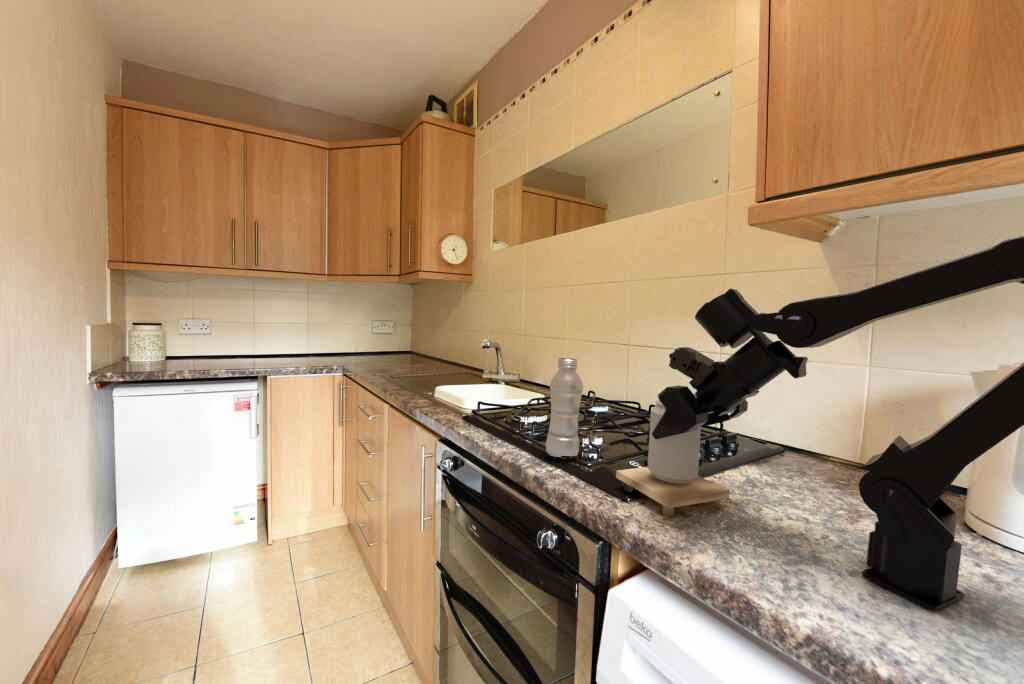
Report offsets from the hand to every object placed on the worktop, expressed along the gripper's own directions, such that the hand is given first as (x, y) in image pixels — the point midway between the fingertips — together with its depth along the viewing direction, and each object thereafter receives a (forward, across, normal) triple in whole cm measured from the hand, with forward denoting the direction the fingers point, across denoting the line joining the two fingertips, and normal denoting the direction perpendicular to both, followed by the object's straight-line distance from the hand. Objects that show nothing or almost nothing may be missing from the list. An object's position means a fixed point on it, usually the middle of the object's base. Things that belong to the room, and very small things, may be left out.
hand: (666, 433), depth 69 cm
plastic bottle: (+23, 0, -8) cm, 24 cm away
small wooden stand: (+6, 0, +8) cm, 10 cm away
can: (+4, 0, +6) cm, 7 cm away
